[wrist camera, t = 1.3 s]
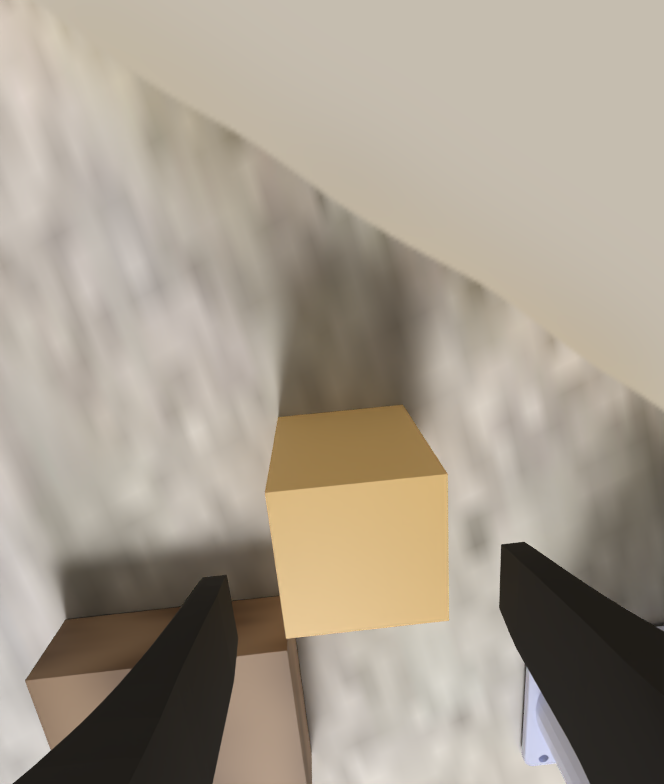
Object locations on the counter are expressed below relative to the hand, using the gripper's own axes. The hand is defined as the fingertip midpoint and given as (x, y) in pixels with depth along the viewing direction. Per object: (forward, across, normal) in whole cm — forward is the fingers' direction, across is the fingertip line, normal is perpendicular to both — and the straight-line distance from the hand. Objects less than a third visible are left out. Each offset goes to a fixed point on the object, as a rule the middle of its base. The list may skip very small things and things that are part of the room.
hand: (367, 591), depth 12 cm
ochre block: (+7, 0, 0) cm, 7 cm away
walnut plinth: (+7, +8, +11) cm, 15 cm away
